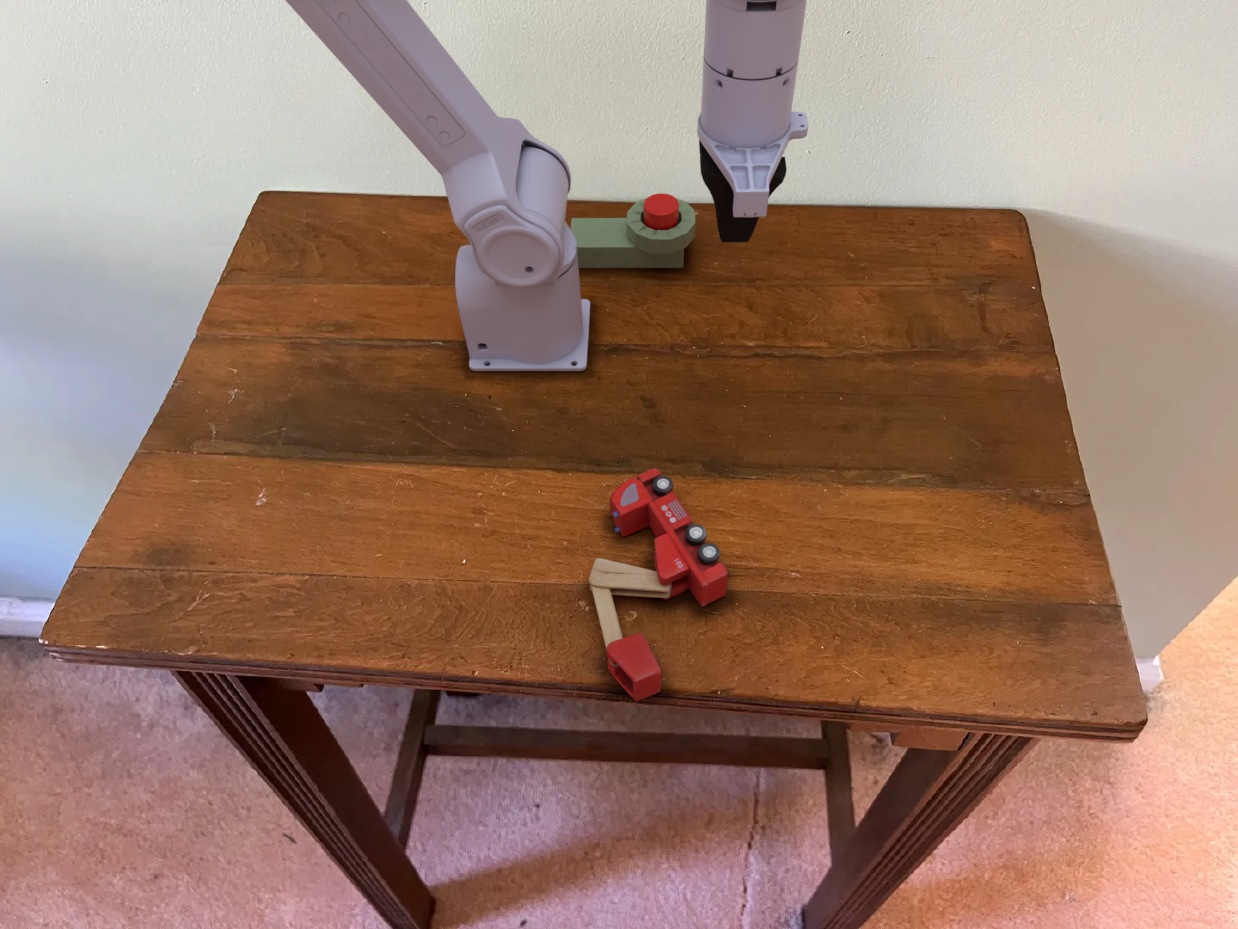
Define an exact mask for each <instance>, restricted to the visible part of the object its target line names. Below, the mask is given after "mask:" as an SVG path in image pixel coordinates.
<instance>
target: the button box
mask: <svg viewBox="0 0 1238 929" xmlns="http://www.w3.org/2000/svg"><path fill="white" fill-rule="evenodd" d="M647 198H648V197H645V198H643V199H640V200H637V201H636V202H634V204H633V205H632V206H631V207H630V208H629V209H628V210H627V211H626V217H571V219H570V227H569V228H570V230H571V231H572V233H573V235H574V237H575V239H576V243H577V255H578V268H579V269H680V268H681V269H682V268H684V259H685V258H684V257H685V254H684V253H685V248H687V247H688V246H689V244H690V243H692V241H693V240H694V238H696V237H695V236H696V211H695V210H694V208H693V207H692V206H691V205H690V204H689V203H688V202H687V201H685V200H683V199H680V198H676V197H675V198H676V199H677V200H678V203H679V217H678V223H677V225H676V226H675V227H674V228H672V229H669V230H654V229H651V228H648V227H647V226H646V225H645V223H644V202H645V200H646V199H647Z"/></svg>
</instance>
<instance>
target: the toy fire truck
mask: <svg viewBox="0 0 1238 929" xmlns="http://www.w3.org/2000/svg"><path fill="white" fill-rule="evenodd" d="M673 488H674V483H673V480H672V479H671V477H670V476H667V475H662V473H661V471H660V469H658V468H656V467H654V468H652V469H648V470H646V471H645V472H642V473H640V474H637V476H636V477H631V478H628V479H627V480H626V481H624V482H622V483H621V484H620V485H618V487H617V488H615V490H614V491H613V492H612V494H611V495H610V499H609V509H610V513H611V517H612V520H613V522H614V525H615V528H614V531H615V533H620V535H621V536H622V537H627V536H630V535H632V534H634V533H636V532H638V531H641V530H643V529H645V528H647V527H649V528H650V529H651V531H652V533H653V534H654V536H655V538H654V539H653V540H654V543H653V544H654V555H653V563H654V570H652V569H648V568H644V567H639V566H635V565H632V564H628V563H623V562H622V563H621V562H619V561H613V560H610V559H606V558H601V557H597V558H595V559H594V560H593V561H594V562H593V565H592V568H591V569H590V570H591V571H590V574H589V578H588V583H589V590H590V591H591V592H592V597H593V601H594V606H595V609H596V613H597V617H598V622H599V625H600V629H601V634H602V638H603V642H604V646H605V650H606V657H607V670H608V672H609V673H610V674H611V676H612V677H613V678H614V679H615V680H616V682H617V683H618V684H619V685H620V687H622V689H623V690H624V691H625V692H626V693H627V694H628V695H629V696H630V698H631V699H633V700H634V701H635V702H640V701H642V700H644V699H646V698H649V697H651V696H653V695H656V694H658V693H660V692H661V690H662V669H661V667H660V665H659V663H658V661H657V658H656V657H655V655H654V653H653V652H652V649H651V647H650V645H649V643H648V641H647V639H646V637H645V636H644V634H643V632H642V633H635V634H633V635H629V636H625V637H623V632H622V629H621V625H620V622H619V617H618V614H617V610H616V605H615V602H614V598H613V596H624V597H641V598H656V599H657V598H658V599H662V600H669V599H671V598H673V597H675V596H677V595H680V594H682V593H683V592H685V591H688V589H689V591H690V592H691V594H692V595H693V597H694V598H695V600H696V601H697V603H698V604H699V606H700V607H702V608H703V607H706V606H707V605H708V604H710V603H714V602H715V601H716V600H719V599H720V598H722V597H724V596H726V595H727V587H728V586H727V585H728V576H729V573H728V572H729V571H728V570H727V568H726V566H725V565H724V564H723V563H722V562H718V561H719V560H720V557H721V550H720V548H719V546H718V545H717V544H716V543H712V542H705V541H706V539H707V537H708V536H707V535H708V533H707V530H706V528H705V527H704V526H703V525H702V524H700V523H694V520H693V518H692V517H691V515H690V513H689V512H688V511H687V508H686V507H685V506H684V504H682V502H681V500H680V499H679V497H678V496H677V494H676V493H675V492H673Z"/></svg>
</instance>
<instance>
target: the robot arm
mask: <svg viewBox="0 0 1238 929" xmlns="http://www.w3.org/2000/svg"><path fill="white" fill-rule="evenodd" d="M285 2H286V3H287V4H288V5H289V6H290V7H291V9H293V11H294V13H296V14H297V16H298V17H299V18H300V19H301V20H302V21H303V22H304V23H305V25H307V27H309V29H310V30H311V31H312V32H313V33H314V34H315V36H316V37H317V38H318V39H319V40H320V41H321V42H322V43H323V44H324V46H325V47H326V48H327V49H328V50H329V51H330V52H331V54H333V56H334V57H335V58H336V59H337V60H338V61H339V62H340V64H341V65H342V66H343V67H344V68H345V69H346V70H347V71H348V73H349V74H350V75H351V76H352V77H353V78H354V79H355V81H356V82H358V84H359V85H360V86H361V87H362V89H364V90H365V92H366V93H367V94H368V95H369V96H370V97H371V98H372V100H373V101H375V103H376V104H377V105H378V106H379V108H380V109H382V111H383V112H384V113H385V114H386V115H387V116H388V117H389V118H390V120H391V121H392V122H393V123H394V124H395V125H396V126H397V127H398V128H399V129H400V131H401V132H402V133H403V134H404V135H405V137H407V139H408V140H409V141H410V142H411V143H412V144H413V145H414V147H415V148H416V149H417V150H418V151H419V153H420V154H422V156H423V157H424V158H425V159H426V160H427V161H428V163H430V165H431V166H432V167H433V168H434V170H436V171H437V173H438V174H439V175H440V177H441V179H442V182H443V185H444V188H445V192H446V196H447V200H448V204H449V207H450V211H451V216H452V219H453V221H454V224H455V226H456V227H457V228H458V229H459V231H460V232H461V233H462V234H463V235H464V237H465V238H466V240H467V241H468V242H469V244H466V245H465V244H464V245H461V246H460V247H459V248H458V251H457V255H456V260H455V269H454V270H455V271H454V286H455V287H454V288H455V296H456V304H457V310H458V314H459V318H460V323H461V326H462V331H463V336H464V339H465V344H466V347H467V352H468V356H469V361H468V367H469V369H470V370H471V371H473V372H583V371H585V370H586V369H587V367H588V356H589V355H588V353H589V335H590V322H591V320H590V319H591V301H590V300H589V299H587V298H582V294H581V283H580V281H581V280H580V270H579V269H580V268H578V255H577V243H576V239H575V237H574V235H573V233H572V231H571V230H570V228H571V227H570V226H569V225H568V223H567V221H566V219H567V218H566V216H567V208H568V207H567V206H568V197H569V193H570V190H571V187H572V186H571V185H572V172H571V169H570V167H569V165H568V163H567V161H566V159H565V158H564V156H563V155H562V154H561V153H560V152H559V151H558V150H557V149H555V148H554V147H553V146H550V145H549V144H547V143H545V142H544V141H541V140H539V139H538V138H537V137H535V136H534V135H533V134H531V133H530V132H529V130H528V129H527V128H526V127H525V125H524V124H523V123H522V121H521V120H519V119H518V118H513V117H504V116H503V117H502V116H498V115H497V113H496V111H494V110H493V108H492V107H491V106H490V105H489V103H488V102H487V100H485V98H484V97H483V95H482V94H481V93H480V92H479V90H478V89H477V88H476V87H475V85H474V84H473V83H472V82H471V80H470V79H469V77H467V75H466V74H465V73H464V71H463V70H462V69H461V67H460V66H459V65H458V63H457V62H456V61H455V60H454V59H453V57H452V56H451V55H450V53H449V52H448V51H447V50H446V49H445V46H443V45H442V43H441V42H440V41H439V39H438V38H437V37H436V36H435V34H434V33H433V32H432V31H431V29H430V28H429V27H428V25H427V24H426V23H425V21H424V20H423V19H422V17H421V16H420V15H419V14H418V13H417V11H416V10H415V9H414V7H413V6H412V5H411V4H410V2H409V1H408V0H285ZM807 2H808V0H705V19H704V21H705V22H704V43H703V60H702V64H703V65H702V83H701V84H702V85H701V102H700V103H701V105H700V106H701V107H700V113H699V115H698V117H697V126H696V134H697V138H698V146H699V147H698V148H699V167H700V175H701V178H702V180H703V184H704V185H705V186H706V188H707V189H708V191H709V193H710V195H711V198H712V201H713V205H714V209H715V218H716V226H717V231H718V236H719V239H720V242H721V243H748V242H750V240H751V239H752V236H753V234H754V232H755V229H756V227H757V224H758V221H759V219H760V218H765V217H767V213H768V205H769V198H770V197H771V196H772V194H773V193H774V192H775V191H776V189H778V187H780V185H781V184H782V183H784V180H785V178H786V175H787V171H788V170H787V162H786V156H784V153H785V152H786V149H787V147H788V145H789V143H790V142H791V141H792V140H797V139H801V140H802V139H805V138H806V137H807V136H808V131H809V121H808V117H807V114H806V113H805V112H802V111H792V110H793V102H794V96H795V95H794V94H795V88H796V82H797V75H798V74H797V73H798V68H799V67H798V66H799V58H800V55H801V54H800V53H801V47H802V37H803V33H804V32H803V31H804V25H805V17H806V10H807Z"/></svg>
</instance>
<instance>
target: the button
mask: <svg viewBox="0 0 1238 929" xmlns="http://www.w3.org/2000/svg"><path fill="white" fill-rule="evenodd" d="M646 198H647V199H646V200H645V202H644V223H645V225H646V226H647V227H648V228H651V229H654V230H669V229H672V228H674V227H675V226H676V225H677V223H678V217H679V203H678V200H677V199H678V198H677V199H676V197H675V196H673V195H672V194H669V193H664V192H663V193H654V194H651V195H650V196H648V197H646Z"/></svg>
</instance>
